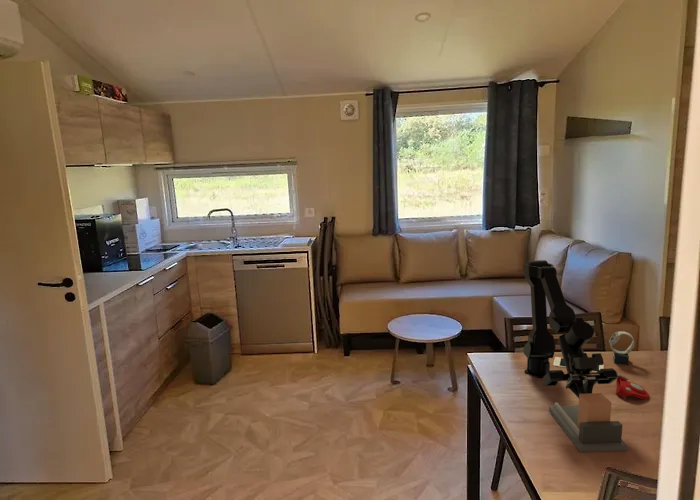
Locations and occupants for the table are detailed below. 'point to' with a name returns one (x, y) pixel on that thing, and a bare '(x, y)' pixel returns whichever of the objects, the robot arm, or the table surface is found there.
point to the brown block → (593, 408)
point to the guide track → (575, 438)
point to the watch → (620, 355)
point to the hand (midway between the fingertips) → (589, 408)
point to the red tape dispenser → (629, 388)
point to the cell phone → (559, 363)
